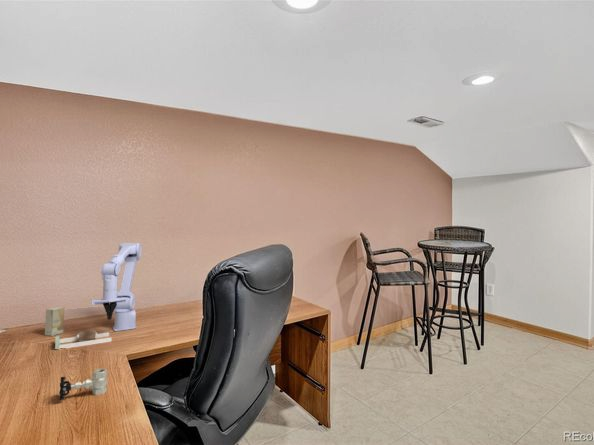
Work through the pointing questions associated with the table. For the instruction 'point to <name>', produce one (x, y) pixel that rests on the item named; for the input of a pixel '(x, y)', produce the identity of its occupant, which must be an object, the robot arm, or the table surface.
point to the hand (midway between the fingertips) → (109, 319)
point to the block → (87, 335)
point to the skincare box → (54, 321)
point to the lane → (58, 341)
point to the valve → (86, 384)
